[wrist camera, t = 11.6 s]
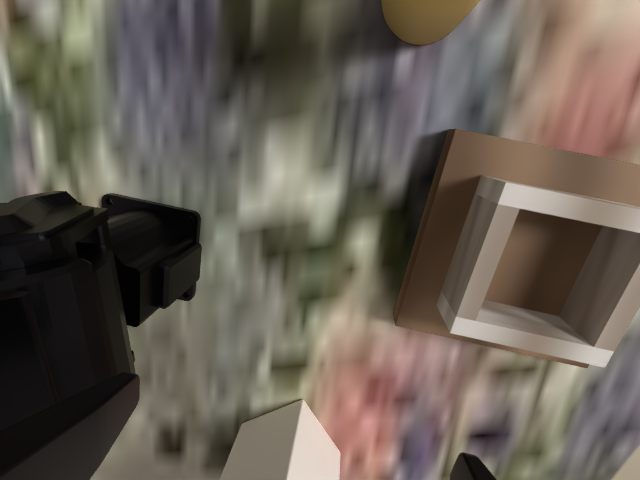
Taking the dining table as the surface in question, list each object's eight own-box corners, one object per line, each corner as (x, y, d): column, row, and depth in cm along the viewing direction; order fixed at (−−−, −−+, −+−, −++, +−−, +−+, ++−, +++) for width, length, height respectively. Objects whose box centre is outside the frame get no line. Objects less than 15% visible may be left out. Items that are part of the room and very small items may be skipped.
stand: (393, 313, 22) (402, 355, 18) (447, 129, 18) (476, 127, 14) (571, 352, 21) (625, 406, 17) (666, 172, 18) (765, 183, 13)
